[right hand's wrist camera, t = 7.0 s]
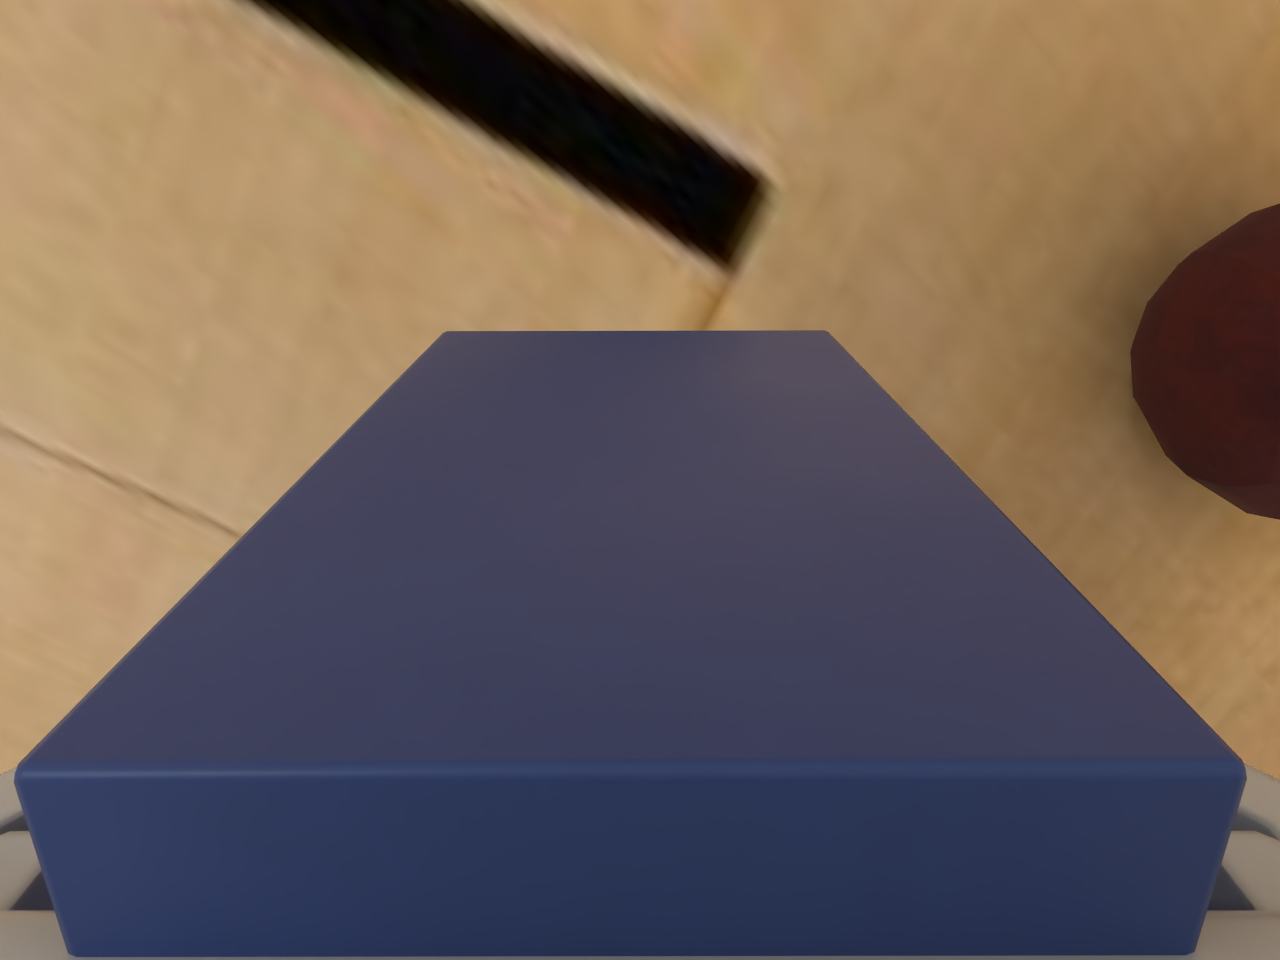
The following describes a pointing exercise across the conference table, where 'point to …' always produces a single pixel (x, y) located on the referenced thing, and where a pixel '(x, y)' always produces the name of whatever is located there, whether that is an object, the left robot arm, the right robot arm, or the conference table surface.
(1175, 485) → the conference table surface
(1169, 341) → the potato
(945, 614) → the box
